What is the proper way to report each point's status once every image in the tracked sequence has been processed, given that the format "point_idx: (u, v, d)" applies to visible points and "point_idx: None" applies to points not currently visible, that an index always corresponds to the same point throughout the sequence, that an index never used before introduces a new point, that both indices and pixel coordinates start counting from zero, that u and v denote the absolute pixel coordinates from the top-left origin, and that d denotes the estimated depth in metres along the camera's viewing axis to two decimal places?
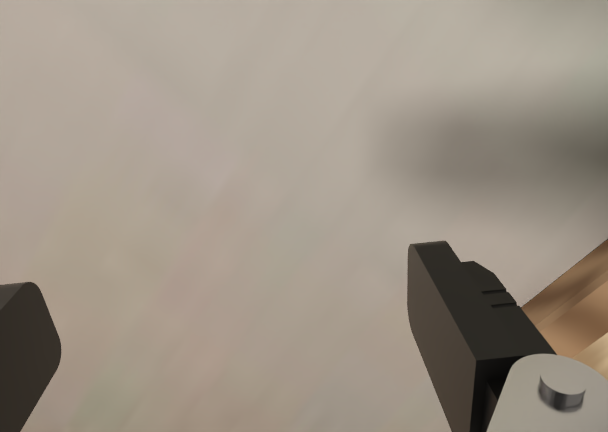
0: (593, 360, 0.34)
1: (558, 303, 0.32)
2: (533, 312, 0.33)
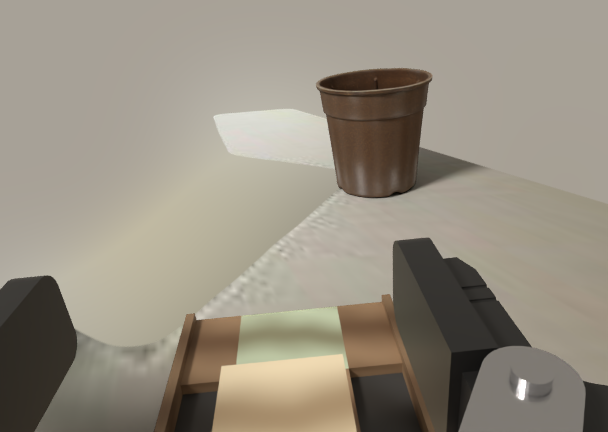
0: None
1: None
2: None
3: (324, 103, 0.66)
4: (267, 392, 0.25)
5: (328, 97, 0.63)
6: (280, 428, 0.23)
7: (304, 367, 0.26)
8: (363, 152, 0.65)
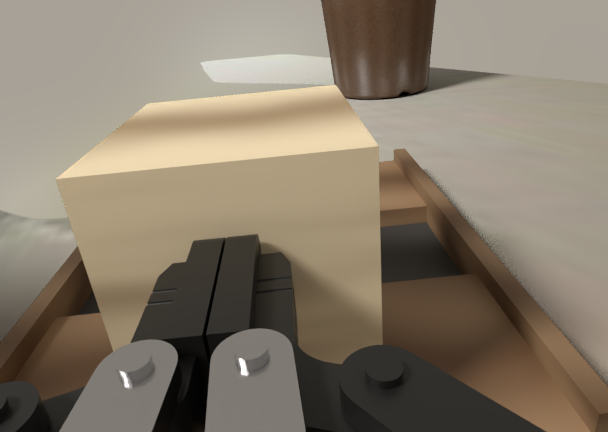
0: None
1: None
2: None
3: None
4: (212, 109, 0.15)
5: None
6: (227, 125, 0.13)
7: (274, 94, 0.17)
8: (366, 37, 0.54)
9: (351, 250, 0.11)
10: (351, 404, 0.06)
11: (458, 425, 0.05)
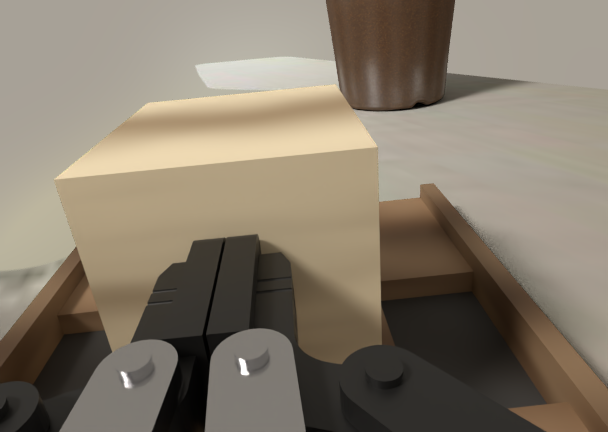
0: None
1: None
2: None
3: None
4: (211, 109, 0.15)
5: None
6: (226, 125, 0.13)
7: (274, 94, 0.17)
8: (377, 42, 0.48)
9: (350, 251, 0.11)
10: (351, 404, 0.06)
11: (458, 425, 0.05)
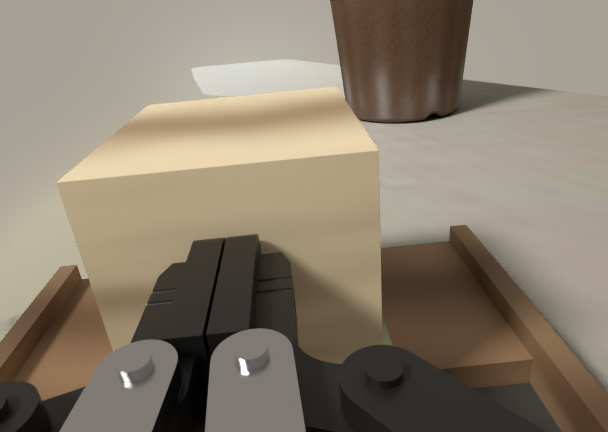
0: None
1: None
2: None
3: None
4: (213, 112, 0.15)
5: None
6: (227, 128, 0.13)
7: (275, 96, 0.17)
8: (388, 47, 0.43)
9: (351, 254, 0.11)
10: (351, 404, 0.06)
11: (458, 425, 0.05)
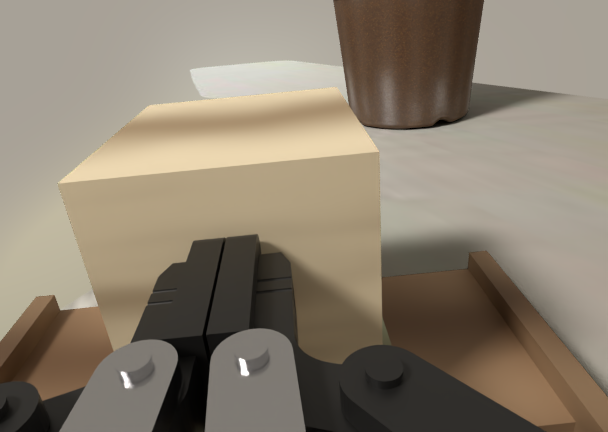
0: None
1: None
2: None
3: None
4: (213, 112, 0.15)
5: None
6: (228, 128, 0.13)
7: (275, 96, 0.17)
8: (394, 50, 0.41)
9: (351, 255, 0.11)
10: (351, 404, 0.06)
11: (458, 425, 0.05)
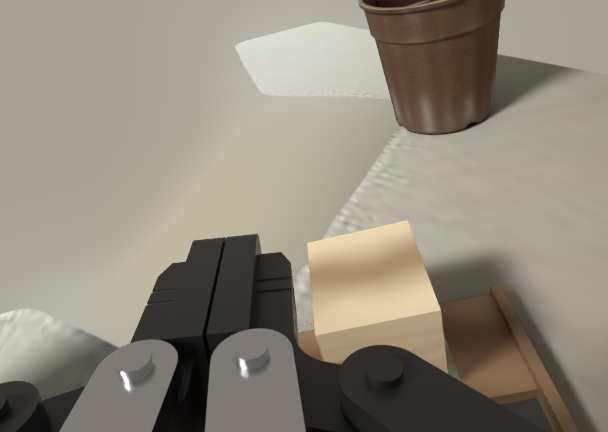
0: None
1: None
2: None
3: (372, 26, 0.52)
4: (349, 257, 0.30)
5: (378, 17, 0.50)
6: (365, 280, 0.28)
7: (376, 234, 0.31)
8: (429, 81, 0.52)
9: (431, 341, 0.27)
10: (351, 404, 0.06)
11: (458, 425, 0.05)
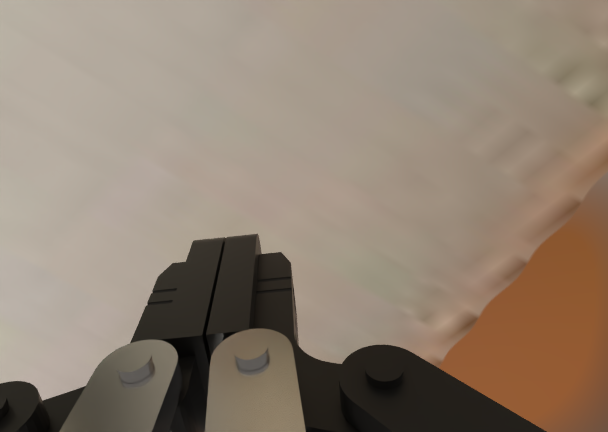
0: None
1: None
2: None
3: None
4: None
5: None
6: None
7: None
8: None
9: None
10: (351, 404, 0.06)
11: (458, 425, 0.05)
